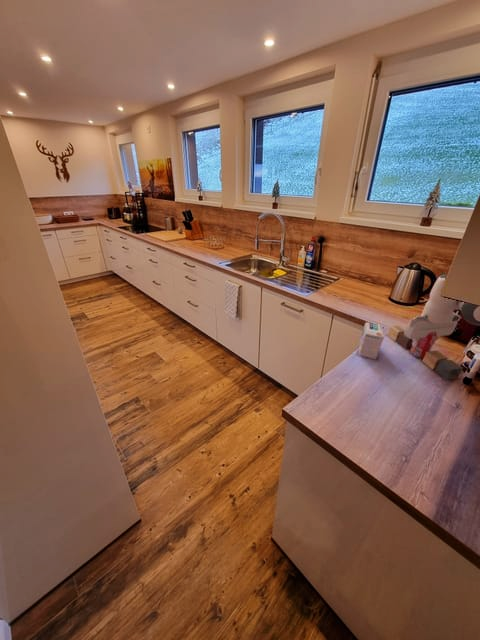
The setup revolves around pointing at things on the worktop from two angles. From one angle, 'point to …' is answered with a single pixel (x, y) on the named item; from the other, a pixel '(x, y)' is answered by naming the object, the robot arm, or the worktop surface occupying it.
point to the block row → (428, 355)
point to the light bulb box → (371, 340)
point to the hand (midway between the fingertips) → (422, 344)
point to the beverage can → (424, 345)
